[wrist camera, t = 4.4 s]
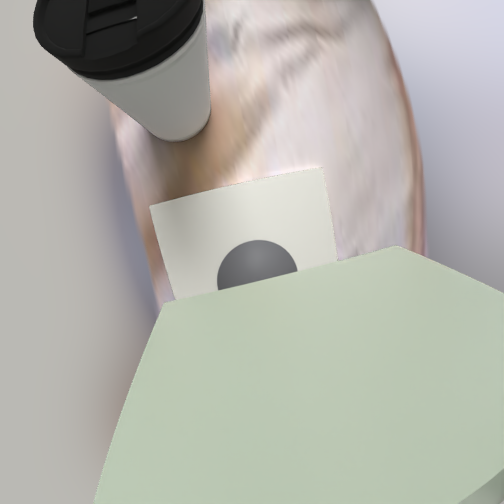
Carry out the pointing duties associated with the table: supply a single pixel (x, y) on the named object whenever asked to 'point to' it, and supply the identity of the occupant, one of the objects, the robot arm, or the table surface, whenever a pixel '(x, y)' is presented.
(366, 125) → the table surface
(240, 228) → the board
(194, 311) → the mint green block
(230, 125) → the table surface
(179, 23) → the travel mug
